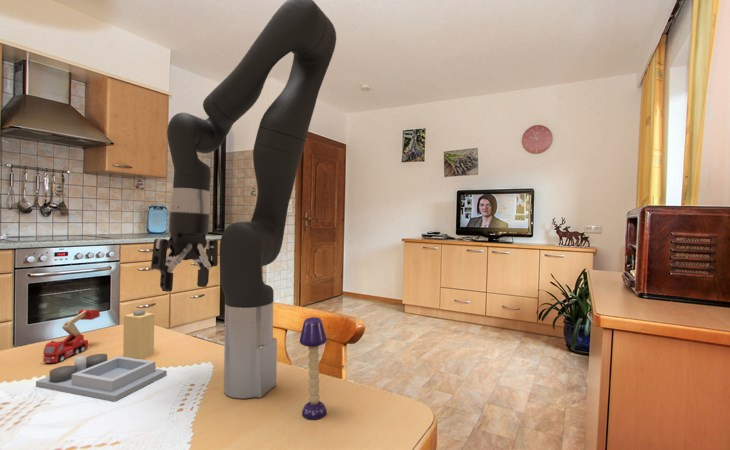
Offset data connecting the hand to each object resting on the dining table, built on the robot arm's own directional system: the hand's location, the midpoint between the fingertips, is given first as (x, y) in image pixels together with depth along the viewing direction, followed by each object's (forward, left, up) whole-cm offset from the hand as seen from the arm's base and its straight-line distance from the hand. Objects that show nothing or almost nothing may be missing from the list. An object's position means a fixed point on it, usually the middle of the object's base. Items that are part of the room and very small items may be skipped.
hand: (185, 288), depth 77 cm
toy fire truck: (+36, -3, -19) cm, 41 cm away
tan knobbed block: (+20, -7, -19) cm, 28 cm away
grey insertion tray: (+15, +6, -19) cm, 25 cm away
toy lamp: (-31, +5, -19) cm, 37 cm away
